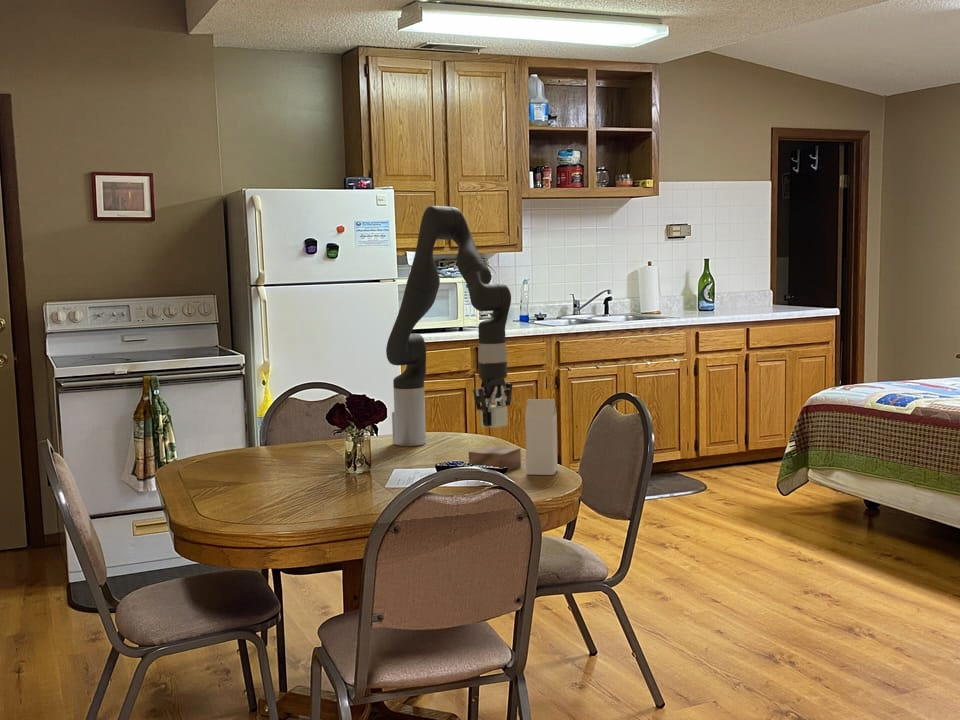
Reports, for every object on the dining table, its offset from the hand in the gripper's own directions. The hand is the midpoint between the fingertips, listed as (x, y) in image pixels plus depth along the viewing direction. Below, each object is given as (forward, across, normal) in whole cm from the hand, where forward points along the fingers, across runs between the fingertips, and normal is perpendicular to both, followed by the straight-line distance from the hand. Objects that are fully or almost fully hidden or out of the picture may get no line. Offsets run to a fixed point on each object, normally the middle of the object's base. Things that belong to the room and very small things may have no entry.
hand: (494, 424), depth 265 cm
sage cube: (0, 0, 0) cm, 0 cm away
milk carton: (+12, -2, +14) cm, 18 cm away
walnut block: (+12, 0, 0) cm, 12 cm away
